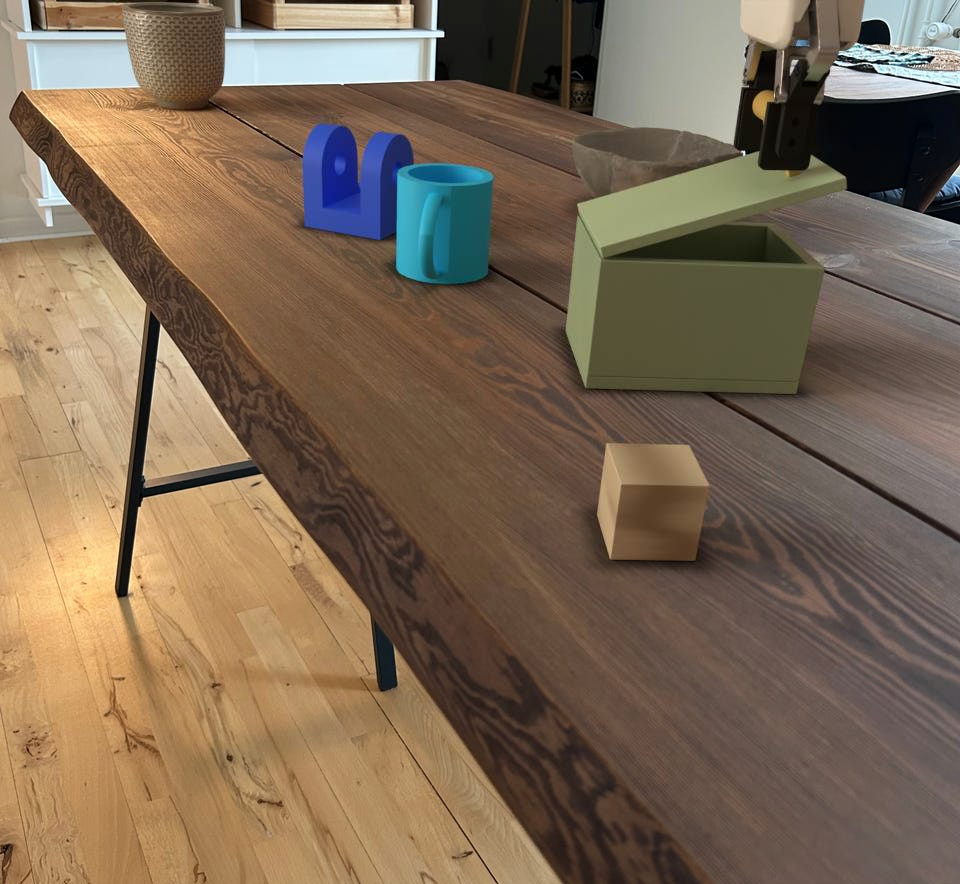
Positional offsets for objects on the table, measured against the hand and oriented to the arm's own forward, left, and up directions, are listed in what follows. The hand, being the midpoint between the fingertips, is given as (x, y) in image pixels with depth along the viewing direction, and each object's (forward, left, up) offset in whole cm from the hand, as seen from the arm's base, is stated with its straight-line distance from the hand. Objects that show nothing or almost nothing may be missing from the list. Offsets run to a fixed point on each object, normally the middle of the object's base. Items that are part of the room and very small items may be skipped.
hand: (769, 156), depth 68 cm
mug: (+21, -18, -15) cm, 31 cm away
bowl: (-2, -41, -15) cm, 44 cm away
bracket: (+26, -38, -15) cm, 48 cm away
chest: (+4, 0, -15) cm, 15 cm away
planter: (+57, -93, -15) cm, 110 cm away
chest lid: (+4, 0, -3) cm, 5 cm away
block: (+11, +24, -15) cm, 31 cm away
